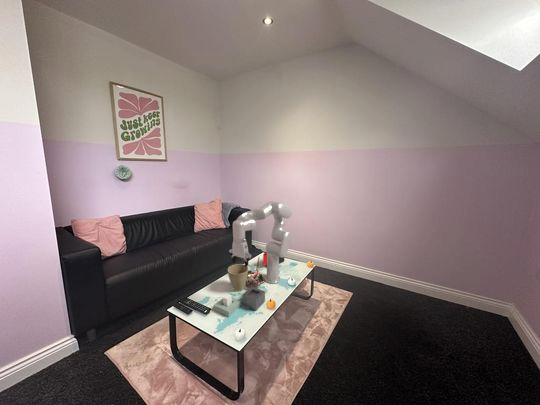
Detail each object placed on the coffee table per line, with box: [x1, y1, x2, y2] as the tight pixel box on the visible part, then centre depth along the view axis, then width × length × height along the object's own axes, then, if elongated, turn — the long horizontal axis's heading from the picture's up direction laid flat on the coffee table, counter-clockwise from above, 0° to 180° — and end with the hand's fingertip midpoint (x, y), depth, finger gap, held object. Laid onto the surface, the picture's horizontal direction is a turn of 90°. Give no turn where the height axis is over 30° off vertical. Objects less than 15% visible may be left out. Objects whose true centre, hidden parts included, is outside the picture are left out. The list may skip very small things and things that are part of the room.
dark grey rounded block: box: [241, 286, 266, 312], centre depth 136 cm, size 11×11×8 cm
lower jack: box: [213, 296, 242, 318], centre depth 132 cm, size 12×12×4 cm
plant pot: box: [227, 263, 249, 292], centre depth 152 cm, size 15×15×16 cm
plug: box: [222, 293, 233, 307], centre depth 132 cm, size 4×3×7 cm
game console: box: [262, 252, 286, 268], centre depth 191 cm, size 28×6×15 cm, turn 136°
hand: (240, 264), depth 134 cm, fingers open, 9 cm apart
